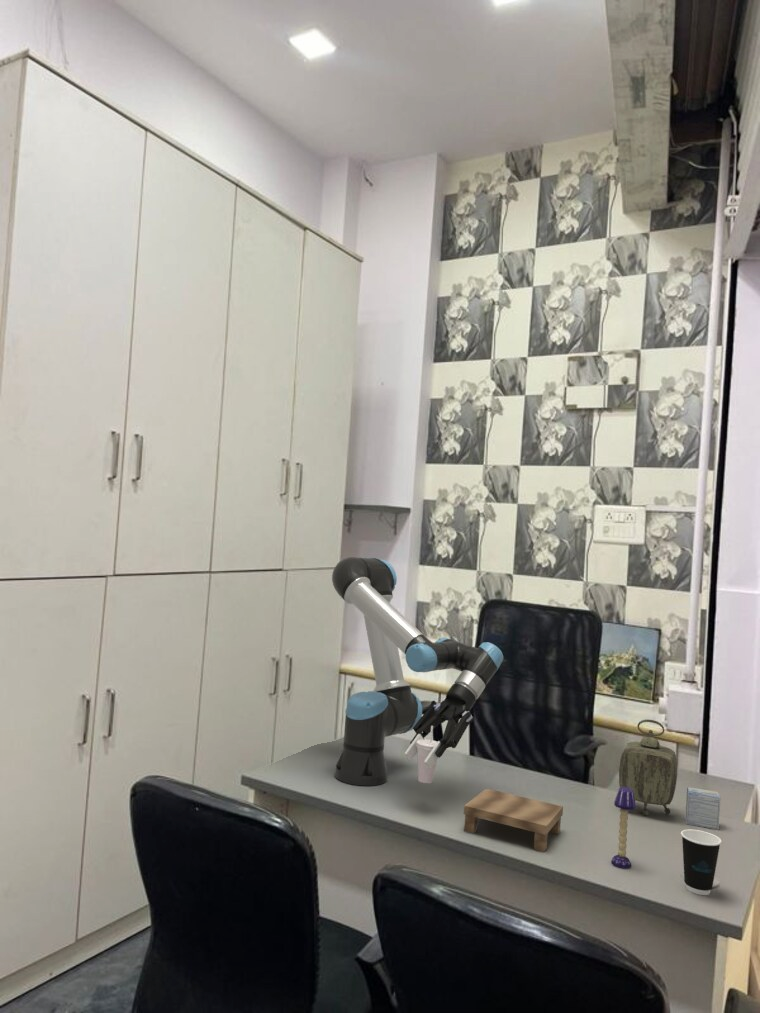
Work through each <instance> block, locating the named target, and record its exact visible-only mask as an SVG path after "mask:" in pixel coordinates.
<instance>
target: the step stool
mask: <svg viewBox="0 0 760 1013" xmlns="http://www.w3.org/2000/svg"><path fill="white" fill-rule="evenodd" d="M463 808H464V809H463V815H464V825H463V826H464V827H463V828H464V829H463V831H464V832H466V833H470V834H475V833H476V832H477V831H478V821H479V819H482V820H486V821H489V822H493V823H498V824H501V825H505V826H510V827H513V828H517V829H522V830H525V831H529V832H533V833H534V839H533V840H534V842H533V850H534V851H537V852H541V853H542V852H543V853H545V851H546V850H547V847H548V835H549V833H551V834H555V835H559V833H561V823H562V816H563V814H564V806H561V805H558V804H554V803H548V802H545V801H541V800H537V799H532V798H529V797H528V798H527V797H524V796H519V795H515V794H513V793H508V792H503V791H502V792H501V791H497V790H493V789H491V788H485V789H483V790H482V791H481V792H480V793H478V794H477V795H476V796H474V797H473V798H472V799H470V801H468V802H467V803H466V804H464V807H463Z"/></svg>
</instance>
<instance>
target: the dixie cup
mask: <svg viewBox="0 0 760 1013" xmlns="http://www.w3.org/2000/svg"><path fill="white" fill-rule="evenodd" d="M680 836H681V837H682V838H681V840H682V842H681V843H682V856H683V857H682V858H683V859H682V860H683V878H684V880H683V881H684V884H685V888H686V890H688V892H690V893H693V894H695V895H701V896H709V895H710V894H711V891H712V889H713V886H714V880H715V874H716V869H717V863H718V857H719V852H720V847H721V846H720V845H721V844H722V842H723V841H722V839H721V837H719V836H717V835H715V834H713V833H710V832H707V831H704V830H700V829H699V830H698V829H690V828H689V829H683V830H681V832H680Z"/></svg>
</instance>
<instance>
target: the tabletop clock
mask: <svg viewBox="0 0 760 1013" xmlns="http://www.w3.org/2000/svg"><path fill="white" fill-rule="evenodd" d="M642 723H653V724H656V725H658V726H660V727H661V729H662V731H661V732H659V733H654V732H653V730H651V729H649V730H648V732H646V731H644V730H642V728H640V725H641V724H642ZM637 730H638V731H639V732H640V733H642V734H644V735H646V736H643V737H641V740H640V741H631V742H630V741H629V742H628V743H626V746H625V748H624V749H623V751H622V753H621V756H620V761H619V767H618V783H619V788H620V787H628V788H631V789H632V790H633V793H634V798H635V802H636V801H637V802H640V803H643V804H644V806H643V807H644V808H643V809H642V811H641V814H642V815H643V816H645V817H646V816H648V814H649V810H648V809H647V808H648V804H649V805H656V806H663V808H664V810H663V812H664V814H665V815H670V814H671V809H670V808H668V807H667V805H671V803H672V801H673V799H674V796H675V793H676V792H675V791H676V786H677V781H678V780H677V779H678V760H677V759H678V758H677V755H676V751H675V750H673V749H671V748H670V747H668V746H664V745H660V742H659V739H658V738H656V737H659V736H660V737H661V736H662V735H664V733H665V726H664V725H663V724H662V723H661V722H659V721H657V720H654V719H642V720H641V721H639V722H638V723H637Z"/></svg>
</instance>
